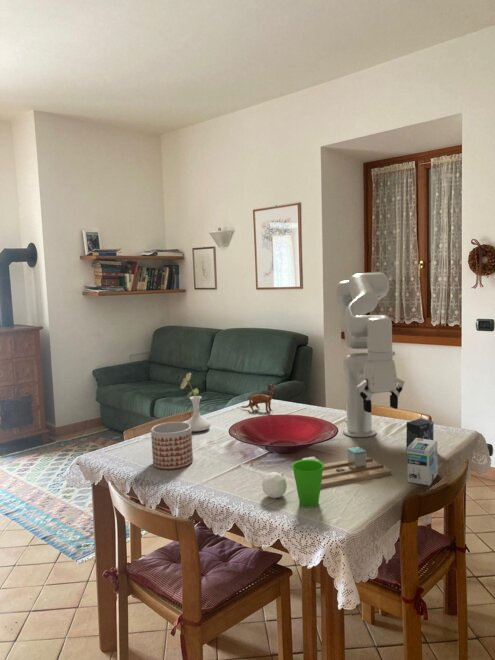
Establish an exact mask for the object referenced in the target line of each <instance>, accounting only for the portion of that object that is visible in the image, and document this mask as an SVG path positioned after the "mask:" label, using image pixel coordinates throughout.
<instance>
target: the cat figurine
mask: <svg viewBox="0 0 495 660" xmlns="http://www.w3.org/2000/svg"><path fill="white" fill-rule="evenodd" d="M266 385H267V390H268V391H269V392H270V395H267V394H262V393H261V394H254V395H252V396H250V397H249V402H248V404H247V405H246V406H244V405H241V406H240V408H243V409H246V408H250V409H251V411H252V412H256V410H254V407H256V409H260V407H259V405H258V404H265V412H266V413H268V414H269V413H271V412H273V411H274V410H273V409H272V408H271V404H272V402H271V401H272V400H273V396H274V391H275V387H276V385H275V384H274V383H272V384H269V383H268V382H267V383H266Z"/></svg>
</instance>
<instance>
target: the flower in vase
mask: <svg viewBox="0 0 495 660" xmlns="http://www.w3.org/2000/svg"><path fill="white" fill-rule="evenodd" d="M191 378H192V373H191V372H189V373H188V372H187V373H186V375H185V378H183V379H182V382H181V384H180V387H179V388H180V389H182V390H184V388H186V386H187V385H189V387H190V388H191V391H189V392H188V393H187V396H186V397H187V398H189V400H190V401H191V403H192V408H193V414H192V416H191V417H190V418H189V419H188V420H187V421H185V423H188V424H190V425H191V432H203V431H206V430H209V429H210V427H211V426H212V424H211V422H210V421H209V420H208V419H206V418H205V417H203V416H202V415H201V413H200V401H201V399H202V397H203V396H200V395H198V394H199V389H198V387H196V388H194V389H193V387H192V385H191V383H190V380H191ZM192 395H193V396H192Z"/></svg>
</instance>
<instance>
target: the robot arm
mask: <svg viewBox="0 0 495 660" xmlns="http://www.w3.org/2000/svg"><path fill="white" fill-rule="evenodd" d="M389 290H390V280H389V278H388V276H387V275H386V274H385V273H383V272H362V273H355V274H353V275H351V276H350V277H349V279H348V280H342V281H339V282H338V283H337V285H336V288H335V293H336V296H335V297H336V300H337V304H338V306H339V308H340V311H341V313H342V318H343V329H344V331H343V333H344V339H345V340H344V343H345V345H346V347H347V348H348V349H349V350H352V351H353V350H354V351H355V350H356V351H357V350H358V351H363V350H365V351H366V350H367V352H353V353H349V354H347V355H346V356H345V357H344V358H343V362H342V365H343V372H344V377H345V388H346V389H345V392H346V393H345V395H346V419H344V423H346V427H344V428H343V430H342V432H343V434H344V435H345V436H348V437H353V438H369V437H373V436H375V435H376V434H377V430H376V428H374V427H373V426H372V425H373V424H372V422H373V420H372V419H373V418H372V396H373V395H375V394H382V393H390V394H389V407H390V408H391V409H392V408H393V409H395V410H397V409H398V404H399V396H400V394H401V392H402V391H403V388H404V385H405V380H403V379H400V378H398V377H397V369H396V364H395V360H394V359H393V358H394V357H393V356H395V355H396V352H395V351H393V324H392V323H393V322H392V319H391V318H390V317H389V316H388V315H387V314H368V313H370V312H373V310H375V309H376V308H377V306H378V304H379V301H380V300H382V299H383V298H384V297H386V295H388V293H389Z"/></svg>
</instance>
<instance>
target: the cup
mask: <svg viewBox="0 0 495 660" xmlns="http://www.w3.org/2000/svg"><path fill="white" fill-rule="evenodd" d="M324 464H325V463H323V462H322V461H321V460H319V461H317V460H311V459H306V460H302V459H300V460H296V461H294V462H292V464H291V468H292V470H293V475H294V481H295V487H296V490H297V496H298V503H299V504H300V505H301V507H305V508H314V507H316V506H318V504H319V502H320V494H321V493H320V492H321V480H322V472H323V468H324Z"/></svg>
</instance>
